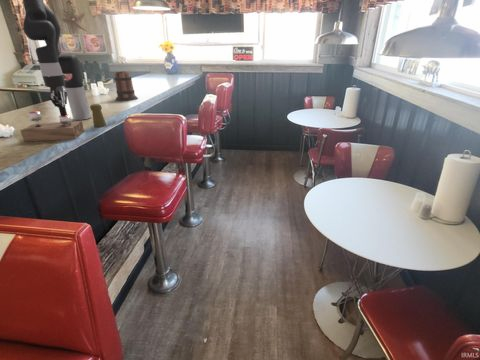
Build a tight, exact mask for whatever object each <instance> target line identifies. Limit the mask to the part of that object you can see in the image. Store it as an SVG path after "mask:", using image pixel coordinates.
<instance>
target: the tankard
mask: <svg viewBox="0 0 480 360" xmlns="http://www.w3.org/2000/svg"><path fill="white" fill-rule="evenodd" d="M130 73H131V72H130V71H114V82H115V88H116V95H117V97H116V98H115V101H116V102H131V101H132V102H133V101H136V100H138V99H139V98H138V96H137V95H136V94H135V89H134V86H133V85H134V84H133V81H132V80H133V79H132V76H131V74H130Z"/></svg>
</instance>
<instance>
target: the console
mask: <svg viewBox="0 0 480 360" xmlns="http://www.w3.org/2000/svg"><path fill="white" fill-rule="evenodd" d="M39 124H40V127H37V126H36V123H35V122H34V123H33V124H30V125H28V126H26V127H24V128H22V129H20V133H21V136H22V139H23V142H25V143H26V142H38V141H39V142H41V141H42V142H44V141H58V139H61V140H75V139H77V138H78V137H80V136H81V135H82V134H83V133H84V132H85V128H84V124H83V121H82V120H76V121H72V123H70V124H69V125H66V126H65V124H61V122H60V121H59V122H39Z"/></svg>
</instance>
